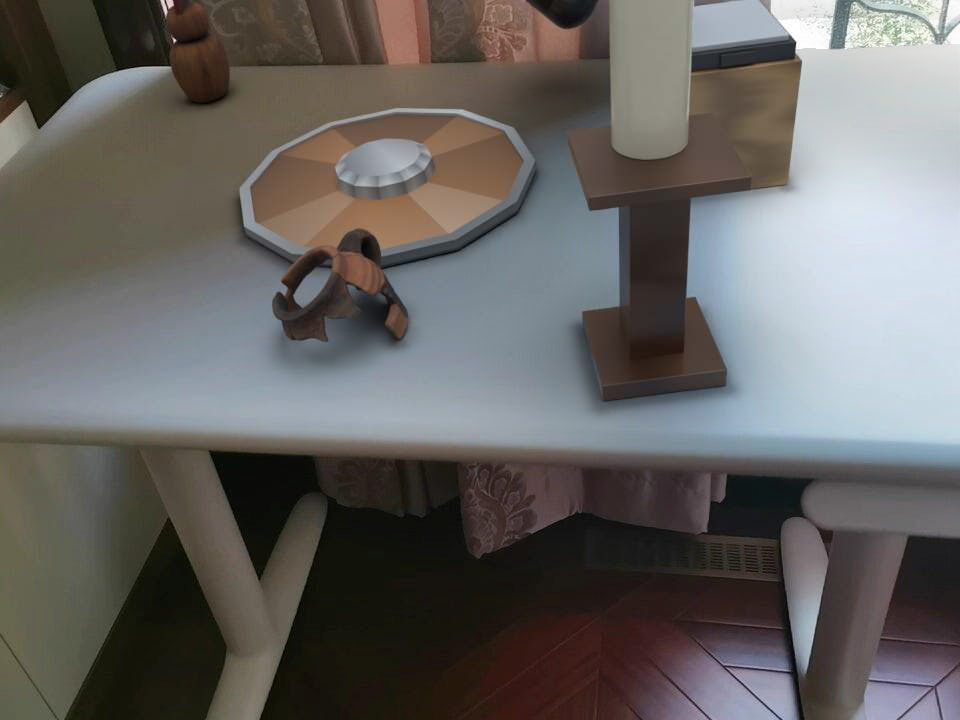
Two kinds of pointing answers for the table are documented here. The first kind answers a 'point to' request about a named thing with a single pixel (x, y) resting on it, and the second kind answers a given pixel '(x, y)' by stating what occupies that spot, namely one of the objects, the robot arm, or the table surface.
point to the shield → (389, 184)
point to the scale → (738, 36)
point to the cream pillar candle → (650, 76)
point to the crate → (753, 113)
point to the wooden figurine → (196, 53)
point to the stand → (654, 260)
